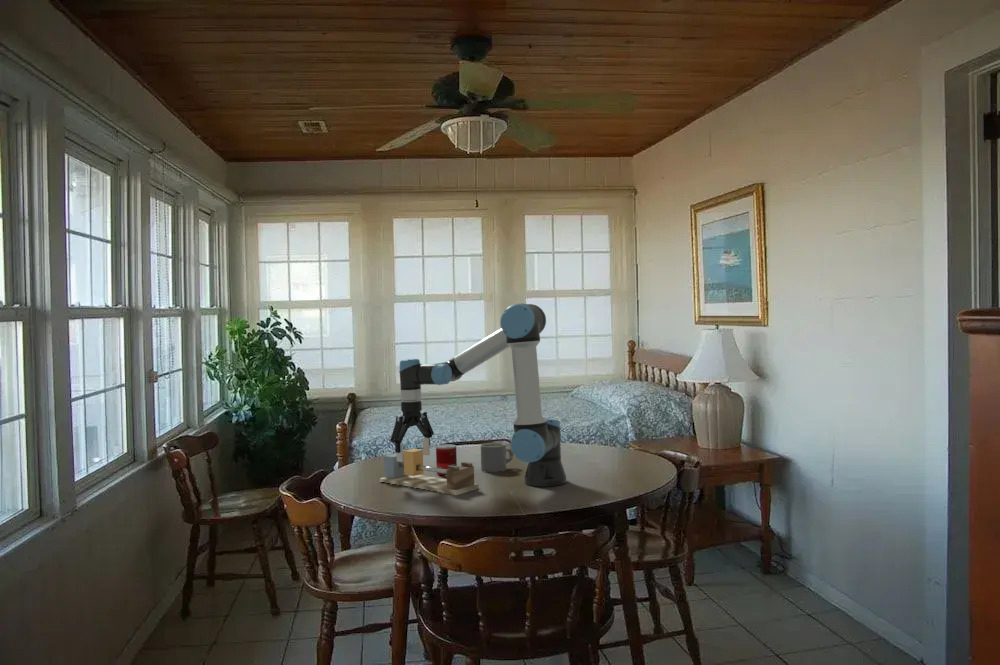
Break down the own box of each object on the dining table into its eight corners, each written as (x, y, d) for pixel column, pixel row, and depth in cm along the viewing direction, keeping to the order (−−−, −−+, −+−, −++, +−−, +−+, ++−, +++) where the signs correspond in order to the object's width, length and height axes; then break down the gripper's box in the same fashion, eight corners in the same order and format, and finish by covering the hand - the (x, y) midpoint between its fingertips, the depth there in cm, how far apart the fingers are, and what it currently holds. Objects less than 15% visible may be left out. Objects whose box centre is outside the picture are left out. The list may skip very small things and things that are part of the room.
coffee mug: (484, 473, 275) (483, 447, 275) (479, 468, 285) (478, 443, 285) (517, 470, 278) (516, 445, 278) (511, 465, 288) (510, 441, 288)
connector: (407, 475, 268) (406, 454, 268) (393, 478, 263) (393, 457, 263) (398, 473, 271) (397, 452, 271) (384, 477, 266) (383, 455, 266)
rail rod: (459, 477, 250) (459, 466, 250) (452, 479, 247) (452, 468, 247) (402, 468, 268) (401, 458, 268) (394, 470, 265) (394, 460, 265)
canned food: (454, 476, 271) (453, 447, 271) (434, 476, 273) (433, 447, 272) (459, 472, 278) (458, 444, 278) (439, 471, 280) (439, 444, 280)
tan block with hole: (423, 473, 262) (422, 449, 262) (413, 476, 258) (413, 452, 258) (413, 472, 265) (413, 448, 265) (404, 474, 261) (403, 450, 261)
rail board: (478, 488, 250) (477, 462, 250) (456, 495, 241) (455, 468, 240) (402, 476, 273) (402, 452, 273) (379, 482, 264) (379, 457, 264)
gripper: (427, 397, 273) (429, 451, 273) (378, 404, 254) (381, 463, 254) (441, 397, 269) (443, 453, 269) (393, 404, 249) (395, 465, 249)
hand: (413, 458), depth 261 cm, fingers open, 13 cm apart
